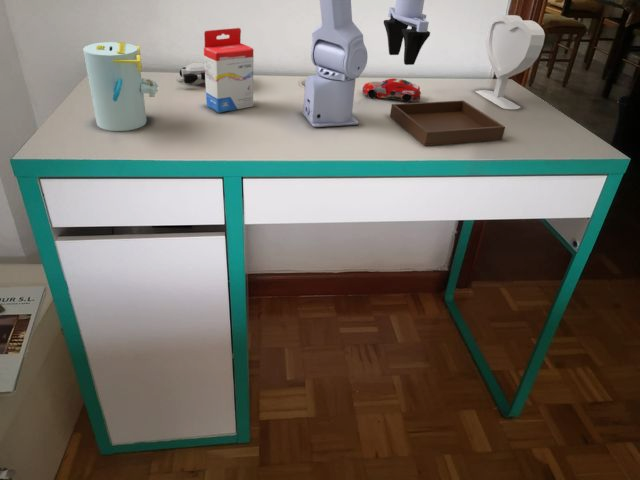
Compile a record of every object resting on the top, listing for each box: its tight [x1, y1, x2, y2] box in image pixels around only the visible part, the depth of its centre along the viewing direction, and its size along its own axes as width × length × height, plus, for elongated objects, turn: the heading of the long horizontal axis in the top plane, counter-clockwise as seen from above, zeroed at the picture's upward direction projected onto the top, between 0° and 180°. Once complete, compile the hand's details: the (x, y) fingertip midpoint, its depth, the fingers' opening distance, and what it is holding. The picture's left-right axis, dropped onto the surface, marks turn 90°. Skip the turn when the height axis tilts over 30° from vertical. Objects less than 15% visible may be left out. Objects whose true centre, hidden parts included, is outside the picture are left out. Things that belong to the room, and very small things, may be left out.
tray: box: [389, 100, 506, 147], centre depth 104 cm, size 17×15×3 cm
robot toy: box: [175, 62, 206, 86], centre depth 116 cm, size 12×4×15 cm
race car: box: [361, 77, 422, 103], centre depth 117 cm, size 13×5×4 cm, turn 80°
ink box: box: [203, 27, 254, 114], centre depth 102 cm, size 8×5×15 cm, turn 129°
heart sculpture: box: [475, 14, 546, 110], centre depth 117 cm, size 16×5×18 cm, turn 18°
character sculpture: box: [82, 41, 159, 132], centre depth 92 cm, size 20×12×13 cm, turn 17°
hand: (401, 59), depth 113 cm, fingers open, 7 cm apart
